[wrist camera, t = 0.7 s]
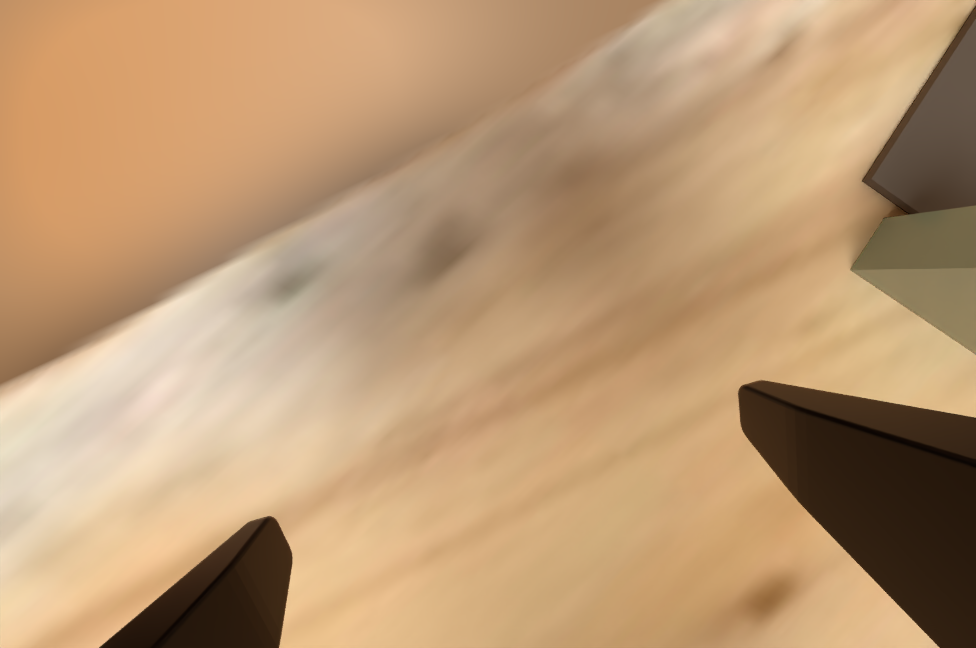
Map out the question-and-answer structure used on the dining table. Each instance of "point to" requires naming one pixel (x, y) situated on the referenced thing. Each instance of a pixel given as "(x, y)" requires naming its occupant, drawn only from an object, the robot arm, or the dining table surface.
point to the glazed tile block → (928, 268)
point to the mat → (935, 138)
